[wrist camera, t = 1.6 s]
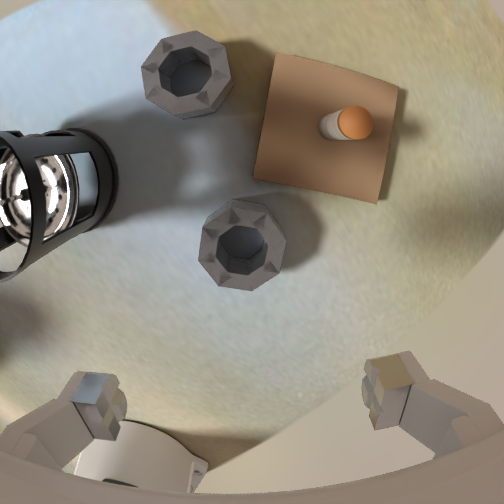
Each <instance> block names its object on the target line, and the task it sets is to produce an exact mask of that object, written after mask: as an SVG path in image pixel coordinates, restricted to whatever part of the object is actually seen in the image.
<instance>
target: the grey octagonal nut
mask: <svg viewBox="0 0 504 504" xmlns="http://www.w3.org/2000/svg"><path fill="white" fill-rule="evenodd" d="M235 225H239V226H245V227H251V228H257V230H258V231H259V233H260V234H261V235H262V237H263V238H264V243H263V248H262V250H261V251H259V252H258V253H256V254H255V255H253V256H252V257H250V258H249V259H242V258H235V257H230V256H229V255H228V254H227V252H226V251H225V250H224V249H223V247H222V246H221V245H220V243H219V239H220V235H222V234H223V233H225V232H226V231H227V230H229V229H230V228H232V227H233V226H235ZM285 245H286V239H285V237H284V234H283V232H282V230H281V228H280V227H279V225H278V224H277V222H276V221H275V220H274V218H273V217H272V215H271V214H270V212H269V211H268V210H267V208H266V207H265V205H264V204H259V203H253V202H247V201H241V200H235V199H232V200H231V201H230V202H228V203H227V204H225V205H224V206H222V207H221V208H220V209H218V210H217V211H215V212H214V213H213V214H211V215H210V216H209V217H208V218H207V220H206V222H205V223H204V225H203V227H202V234H201V242H200V250H199V257H198V261H199V262H200V263H201V265H202V266H203V267H204V268H205V270H206V271H207V272H208V273H209V275H210V276H211V277H212V278H213V280H214V281H215V282H216V283H217V285H218V286H221V287H228V288H234V289H241V290H247V291H253V290H254V289H256V288H257V287H259V286H260V285H262V284H264V283H265V282H267V281H268V280H270V279H271V278H273V277H274V276H276V275H277V274H279V273H280V268H281V263H282V259H283V254H284V250H285Z"/></svg>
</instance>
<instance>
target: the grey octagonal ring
mask: <svg viewBox="0 0 504 504" xmlns="http://www.w3.org/2000/svg"><path fill="white" fill-rule="evenodd" d="M195 59H199V60H201V61H203V62H205V63H206V64H208V65H210V66H211V71H212V76H211V77H210V79H209V80H208V81H207V83H206V84H205V85H204V87H203V88H202V90H201V91H200V92H199V93H194V94H190V95H186V96H181V97H177V96H175V95H173V94H172V91H171V86H170V80H169V78H170V76H171V75H172V73H173V72H174V71H175V69H176V68H177V67H178V65H179V64H180V63H183V62H187V61H191V60H195ZM141 70H142V77H143V83H144V90H145V96H146V99H148V100H150V101H151V102H153V103H155V104H156V105H158V106H160V107H161V108H163V109H165V110H166V111H168V112H170V113H171V114H173V115H175V116H177V117H179V118H181V119H187V118H192V117H196V116H201V115H205V114H210V113H215V111H216V110H217V109H218V107H219V106H220V104H221V103H222V102H223V100H224V99H225V98H226V96H227V95H228V94H229V92H230V91H231V90H232V88H233V85H232V79H231V74H230V69H229V64H228V58H227V53H226V48H225V46H224V45H222V44H220V43H218V42H216V41H215V40H213V39H211V38H209V37H207V36H205V35H204V34H202V33H200V32H198V31H191V32H187V33H183V34H179V35H175V36H171V37H167V38H164V39H161V40H160V42H159V43H158V44H157V46H156V47H155V48H154V50H153V51H152V52H151V54H150V55H149V56H148V58H147V59H146V61H145V62H144V63H143V65H142V66H141Z"/></svg>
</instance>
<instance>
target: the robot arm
mask: <svg viewBox="0 0 504 504" xmlns="http://www.w3.org/2000/svg"><path fill="white" fill-rule="evenodd" d="M364 370H365V372H366V376H365V377H364V378H363V380H362V397H363V401H364V404H365V406H366V407H368V408H369V409H370V414H369V417H370V419H371V422H372V424H373V427H374V430H378V429H383V428H388V427H393V426H397V425H399V427H401V428H402V429H403V430H405V431H406V432H408V433H409V434H410V435H412V436H413V437H414V438H416V439H417V440H418V441H420V442H421V443H422V444H424V445H425V446H426V447H428V448H429V449H431V450H432V451H433V452H435V453H436V454H435V456H434V457H433V459H432V460H430V461H427V462H424V463H421V464H418V465H414V466H412V467H408V468H405V469H401V470H398V471H394V472H390V473H386V474H383V475H379V476H374V477H370V478H366V479H361V480H357V481H352V482H347V483H341V484H336V485H330V486H324V487H317V488H310V489H302V490H293V491H282V492H269V493H253V494H252V493H250V494H202V493H193V492H194V491H195V489H196V488H197V486H198V484H199V483H200V481H201V480H202V478H203V477H204V475H205V473H206V472H207V469H208V463H207V462H206V461H204V460H202V459H201V458H198V457H196V456H194V455H192V454H191V453H190V452H189V451H188V450H187V449H186V448H185V447H184V446H183V445H181V444H180V443H179V442H178V441H176V440H175V439H173V438H172V437H170V436H169V435H167V434H165V433H163V432H161V431H159V430H156V429H154V428H151V427H148V426H145V425H142V424H138V423H134V422H128V421H121V420H123V419H124V418H125V415H126V412H127V401H126V397H125V395H124V393H123V392H122V391H121V390H120V389H119V388H118V386H119V381H118V378H117V376H116V375H114V374H107V373H96V372H83V371H77V372H74V374H73V375H72V377H71V378H70V380H69V381H68V383H67V385H66V386H65V388H64V389H63V391H62V392H61V394H60V395H59V397H58V399H53V400H51V401H49V402H48V403H46V404H44V405H42V406H41V407H39V408H37V409H35V410H34V411H32V412H30V413H28V414H27V415H25V416H23V417H21V418H20V419H18V420H16V421H14V422H13V423H11V424H9V425H7V427H6V428H5V430H4V431H3V433H2V434H1V436H0V504H504V424H503V422H502V421H501V419H500V418H499V417H498V415H497V414H496V412H495V411H494V410H493V408H492V407H491V405H490V404H488V403H485V402H483V401H481V400H479V399H476V398H474V397H472V396H470V395H468V394H465V393H463V392H461V391H459V390H457V389H454V388H452V387H450V386H448V385H446V384H443V383H441V382H439V381H437V380H434V379H433V380H430V379H429V377H428V376H427V375H426V373H425V372H424V370H423V369H422V367H421V365H420V364H419V363H418V361H417V360H416V358H415V357H414V355H413V354H412V352H410V351H406V352H401V353H396V354H393V355H388V356H383V357H377V358H372V359H367V360H366V362H365V366H364ZM80 452H81V453H80ZM79 453H80V456H79V459H78V462H77V465H76V469H75V472H74V475H72V474H69V473H65V472H64V471H63V470H62V468H63V467H64V466H65V465H66V464H68V463H69V462H70V461H71V460H72V459H73V458H74V457H76V456H77V455H78V454H79Z"/></svg>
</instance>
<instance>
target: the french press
mask: <svg viewBox="0 0 504 504" xmlns="http://www.w3.org/2000/svg"><path fill="white" fill-rule="evenodd" d="M87 152H89V154H90V156H91V158H92V160H93V162H94V165H95V168H96V171H97V178H98V196H97V201H96V206H95V208H94V209H93V211H92V212H91V213H90V214H89V215H87V216H86V217H84V218H82V219H78V220H75V218H76V215H77V211H78V205H79V182H78V176H77V172H76V168H75V165H74V163H73V160H72V158H71V156H70V155H69V154H76V153H87ZM118 179H119V178H118V170H117V165H116V162H115V158H114V156H113V154H112V152H111V150H110V148H109V147H108V146H107V144H106V143H105V142H104V141H103V140H102V139H101V138H100V137H99V136H97V135H96V134H94V133H92V132H90V131H88V130H85V129H80V128H71V129H66V130H57V131H49V132H46V133H43V134H41V135H40V134H29V135H26V136H24V135H23V134H22V133H21V132H20V131H0V220H1V222H2V224H3V226H4V227H1V228H0V251H1V250H3V249H5V248H7V247H9V246H11V245H12V244H14V243H16V242H18V243H20V244H21V245H23V246H25V247H28V249H27V252H26V254H25V257H24V259H23V262H22V263H21V265H20V266H19V267H18V269H17V270H16V271H13V272H2V271H0V282H5V281H7V280H10V279H12V278H13V277H15V276H16V275H17V274H19V273H20V272H22V271H23V270H24V269H26V268H27V267H28V266H29V265H31V264H32V263H34V262H35V261H37V260H38V259H40V258H41V257H43V256H44V255H46V254H48V253H49V252H51V251H52V250H54V249H55V248H57V247H58V246H60V245H62V244H63V243H65V242H66V241H68V240H70V239H71V238H74V237H76V236H77V235H79V234H81V233H85V232H87V231H90V230H92V229H94V228H95V227H97V226H98V225H100V224H101V223H102V222H103V221H104V220H105V219H106V217H107V216H108V214H109V213H110V211H111V210H112V207H113V205H114V203H115V200H116V196H117V191H118Z"/></svg>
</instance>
